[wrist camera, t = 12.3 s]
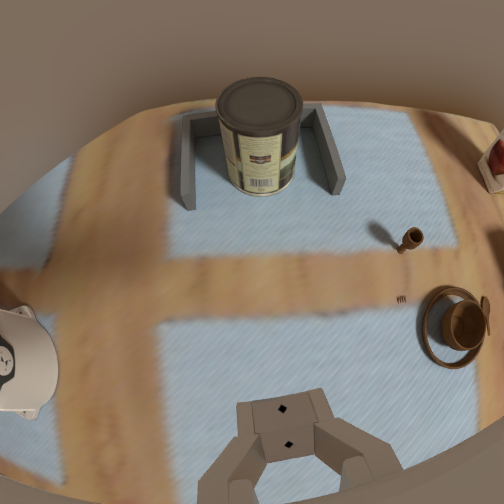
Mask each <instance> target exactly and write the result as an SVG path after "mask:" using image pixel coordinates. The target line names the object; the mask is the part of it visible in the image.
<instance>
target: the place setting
mask: <svg viewBox="0 0 504 504" xmlns="http://www.w3.org/2000/svg"><path fill="white" fill-rule="evenodd" d="M423 238H424V237H423V233H422V232H421V230H420V229H418V228H416V227H412V228H410V229H409V230H408V231H407V232H406V233H405V235H404V236H403V239H402V243H403V244H401V245H400V246H399V247H397V252H398V253H399V254H403V252H404V251H405V250H406V249H414V248H416V247H417V246H419V245H420V244H421V243H422V242H423ZM446 295H457V296H459V297H462V298H463V299H465V300H463V301H460V302H458V303H456V304H454V305H452V306H451V307H450V308H449V309H448V310H447V311H446V313H445V314H444V316H443V319H442V325H441V331H442V336H443V339H444V341H445V343H446V344H447V345H448V346H449V347H450V348H452V349H454V350H457V351H465V350H471V349H472V350H471V352H470V353H469V354H468V355H467V356H466V357H465V358H464V359H463V360H461V361H459V362H457V363H445V362H443V361H441V360H439V359H438V358H437V357H436V356H435V355H434V354H433V352H432V350H431V348H430V346H429V343H428V339H427V330H426V328H427V318H428V314H429V311H430V309H431V308H432V306H433V305H434V303H435V302H436V301H437V300H438V299H440V298H441V297H444V296H446ZM402 301H403V296H402ZM405 302H406V298H405ZM398 303H399V298H398ZM400 303H401V296H400ZM489 313H490V303H489V300H488V299H487V297H484V298H483V301H482V308H481V306H480V304H479V302H478V301H477V299H476V298H475V297H474V296H473V295H472V294H471V293H470V292H468V291H467V290H465V289H462V288H458V287H451V288H447V289H445V290H443V291H441V292H440V293H438V294H437V295H436V296H435V297H434V298H433V299H432V300H431V302H430V304H429V305H428V307H427V309H426V312H425V315H424V319H423V339H424V343H425V347H426V349H427V351H428V353H429V355H430V356H431V358H432V359H433V360H434V361H435V362H436V363H437V364H439V365H440V366H442V367H445V368H448V369H459V368H462V367H465V366H466V365H468V364H470V363H471V362H472V361H473V360H474V359H475V358H476V356H477V355H478V353H479V351H480V350H481V347H482V345H483V341H484V337H485V332H486V320H487V331H488V336H489V335H490V327H489ZM485 317H486V318H485Z"/></svg>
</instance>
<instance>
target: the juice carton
mask: <svg viewBox="0 0 504 504" xmlns="http://www.w3.org/2000/svg"><path fill="white" fill-rule="evenodd" d="M477 165H478V167H479V170H480V172H481V174H482V176H483V178H484V181H485V184H486V186H487V189H488V191H489V193H491V194H504V129H503V131H502V132H501V133H500V134H499V136H498V137H497V138H496V139H495V141H494V142H493V143H492V144H491V146H490V147H489V148H488V149H487V151H486V152H485V153H484V154H483V156H482V157H481V159H480V160H479V162H478V164H477Z"/></svg>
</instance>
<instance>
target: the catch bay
mask: <svg viewBox="0 0 504 504" xmlns="http://www.w3.org/2000/svg"><path fill="white" fill-rule="evenodd" d="M300 127H313V130H314V134H315V137H316V140H317V144H318V147H319V150H320V154H321V157H322V161H323V164H324V168H325V171H326V175H327V179H328V183H329V186H330V190H331V194H332V195H340V192H341V190H342V187H343V185H344V183H345V180H346V176H345V173H344V169H343V166H342V163H341V160H340V157H339V154H338V151H337V147H336V144H335V142H334V139H333V136H332V133H331V130H330V127H329V124H328V121H327V119H326V116H325V113H324V110H323V108H322V105H321V103H316V104H303V111H302V114H301V118H300ZM220 134H221V129H220V123H219V118H218V116H217V113H216V111H214V112H207V113H200V114H193V115H187V116H183V123H182V147H181V193H180V195H181V197H182V199H183V201H184V204H185V206H186V208H187V210H188V211H189V210H196V194H195V138H198V137H205V136H212V135H220Z"/></svg>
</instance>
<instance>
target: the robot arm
mask: <svg viewBox="0 0 504 504" xmlns="http://www.w3.org/2000/svg"><path fill="white" fill-rule="evenodd" d="M57 379H58V361H57V355H56V351H55V348H54V345H53V342H52V340H51V338H50V336H49V334H48V333H47V331H46V330H45V329H44V328H43V327H42V326H41V325H40V324H39V323H38V322H37V320H36V318H35V315H34V313H33V311H32V309H31V308H30V307H29V306H21V307H18V308H15V309H12V310H9V311H6V310H2V309H0V411H13V412H15V413H17V414H19V415H21V416H22V417H24V418H26V419H28V420H35V419H36V418H37V416H38V413H39V410H40V408H41V407H42V406H43V405H44V404H45V403H47V402H48V401H49V400H50V398H51V397H52V395H53V393H54V391H55V388H56V384H57ZM236 408H237V426H238V437H234V438H233V439H232V440H231V441H230V443H229V444H228V445H227V447H226V448H225V449H224V450H223V452H222V453H221V454H220V455H219V457H218V458H217V459H216V460H215V462H214V463H213V464H212V465H211V467H210V468H209V469H208V470H207V471H206V473H205V474H204V475H203V476H202V477H201V479H200V480H199V481H198V495H197V504H259V502H258V499H257V496H256V493H255V490H254V487H255V485H256V484H257V482H258V480H259V478H260V476H261V475H262V473H263V471H264V469H265V467H266V465H267V463H272V462H277V461H282V460H287V459H292V458H298V457H304V456H309V455H314V454H315V456H316V457H318V458H319V459H320V460H321V461H323V462H324V463H325V464H326V465H328V466H329V467H330V468H331V469H333V470H334V471H335V472H337V473H338V474H339V475H341V481H340V488H339V492H336V493H333V494H329V495H325V496H321V497H316V498H312V499H307V500H302V501H297V502H292V503H286V504H504V416H503V417H502V418H500V419H499V420H497V421H496V422H494V423H493V424H491V425H489V426H488V427H486V428H485V429H483V430H481V431H480V432H478V433H477V434H475V435H473V436H471V437H470V438H468V439H466V440H464V441H463V442H461V443H459V444H457V445H455V446H454V447H452V448H450V449H448V450H446V451H444V452H442V453H440V454H438V455H436V456H434V457H432V458H430V459H428V460H425V461H423V462H421V463H419V464H416V465H414V466H412V467H409V468H407V469H405V470H403V468H402V466H401V464H400V462H399V460H398V458H397V457H396V455H395V453H394V451H393V449H392V447H391V445H390V444H388V443H386V442H384V441H382V440H380V439H378V438H376V437H374V436H372V435H370V434H369V433H367V432H365V431H363V430H361V429H359V428H357V427H355V426H353V425H352V424H350V423H348V422H346V421H344V420H342V419H341V418H334V416H333V413H332V411H331V408H330V406H329V403H328V401H327V399H326V396H325V394H324V391H323V389H322V388H318V389H313V390H309V391H305V392H300V393H296V394H291V395H286V396H281V397H276V398H269V399H262V400H255V401H252V402H251V401H249V402H240V403H237V406H236ZM0 504H100V503H95V502H89V501H84V500H80V499H75V498H71V497H67V496H63V495H59V494H55V493H52V492H48V491H45V490H42V489H38V488H35V487H32V486H29V485H26V484H23V483H20V482H18V481H15V480H12V479H10V478H7V477H5V476H2V475H0Z"/></svg>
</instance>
